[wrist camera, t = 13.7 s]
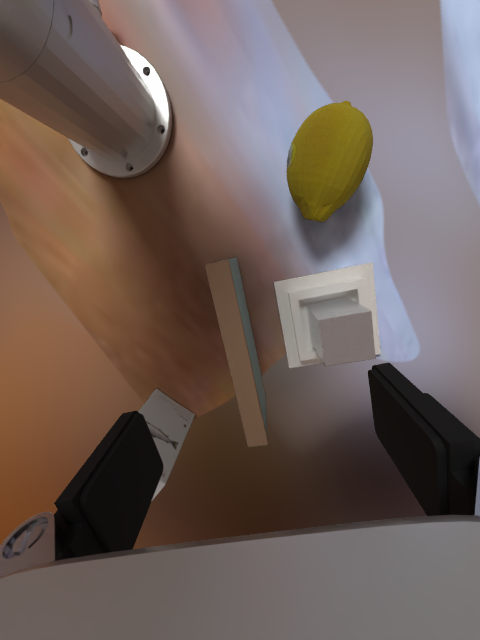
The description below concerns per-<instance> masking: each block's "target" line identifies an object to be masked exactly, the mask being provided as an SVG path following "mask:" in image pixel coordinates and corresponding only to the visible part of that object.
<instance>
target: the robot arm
mask: <svg viewBox="0 0 480 640" xmlns="http://www.w3.org/2000/svg"><path fill="white" fill-rule="evenodd" d="M149 74H150V75H149ZM0 99H2V100H4V101H5V102H7V103H9V104H11V105H12V106H14V107H16V108H17V109H19V110H21V111H23V112H24V113H26V114H28V115H30V116H31V117H33V118H35V119H36V120H38V121H40V122H42V123H43V124H45V125H47V126H48V127H50V128H52V129H54V130H55V131H57V132H59V133H61V134H62V135H64V136H66V137H67V138H68V139H69V141H70V143H71V145H72V146H73V148H74V150H75V151H76V152H77V154H78V155H79V156H80V157H81V158H82V159H83V160H84V161H85V162H86V163H87V164H88V165H90V166H91V167H92V168H94V169H96V170H97V171H99V172H101V173H103V174H106V175H108V176H112V177H116V178H131V177H136V176H139V175H141V174H143V173H145V172H147V171H148V170H150V169H151V168H152V167H154V166H155V164H156V163H157V162H158V161H159V160H160V159H161V157H162V155H163V154H164V152H165V150H166V148H167V145H168V142H169V140H170V135H171V129H172V110H171V103H170V99H169V96H168V93H167V90H166V88H165V86H164V84H163V82H162V80H161V78H160V76H159V75H158V73H157V72H156V70H155V69H154V67H153V66H152V65H151V64H150V63H149V62H148V61H147V59H146V58H144V57H143V56H142V55H140V54H139V53H138V52H136V51H135V50H133V49H130V48H128V47H126V46H123V45H120V44H119V43H118V41H117V40H116V38H115V37H114V35H113V34H112V32H111V31H110V30H109V28H108V26H107V25H106V24H105V22H104V21H103V19H102V13H101V9H100V5H99V1H98V0H0ZM163 131H165V132H164V133H163V134H162V132H163ZM132 168H133V170H132V171H131V169H132ZM368 378H369V386H370V394H371V402H372V410H373V418H374V426H375V431H376V434H377V436H378V438H379V440H380V441H381V443H382V444H383V446H384V448H385V449H386V451H387V452H388V454H389V456H390V457H391V459H392V460H393V462H394V464H395V465H396V467H397V468H398V470H399V472H400V473H401V475H402V476H403V478H404V479H405V481H406V483H407V484H408V486H409V488H410V489H411V491H412V492H413V494H414V496H415V497H416V499H417V500H418V502H419V504H420V505H421V507H422V508H423V510H424V511H425V513H426V515H427V516H418V517H408V518H398V519H388V520H377V521H366V522H357V523H348V524H339V525H331V526H322V527H313V528H305V529H296V530H287V531H278V532H270V533H262V534H253V535H245V536H236V537H228V538H220V539H212V540H204V541H196V542H187V543H179V544H172V545H164V546H156V547H148V548H140V549H133V547H134V544H135V542H136V539H137V537H138V534H139V531H140V529H141V526H142V524H143V521H144V519H145V516H146V514H147V511H148V508H149V506H150V503H151V501H152V498H153V496H154V493H155V491H156V488H157V486H158V483H159V481H160V478H161V476H162V473H163V468H164V465H163V461H162V459H161V456H160V454H159V451H158V449H157V447H156V444H155V442H154V439H153V437H152V435H151V432H150V430H149V427H148V425H147V423H146V420H145V418H144V416H143V414H140V413H139V412H138V411H133V412H128V413H123V414H122V415H121V416H120V417H119V419H118V420H117V421H116V423H115V424H114V425H113V426H112V428H111V429H110V430H109V432H108V433H107V434H106V436H105V437H104V438H103V440H102V441H101V442H100V444H99V445H98V446H97V448H96V449H95V450H94V452H93V453H92V454H91V456H90V457H89V458H88V459H87V461H86V462H85V463H84V465H83V466H82V467H81V469H80V470H79V471H78V473H77V474H76V475H75V477H74V478H73V479H72V480H71V482H70V483H69V484H68V486H67V487H66V489H65V490H64V491H63V492H62V494H61V495H60V496H59V498H58V499H57V500H56V502H55V503H54V504H55V505H56V507H57V508H58V510H57V512H56V513H55V514H54V515H53V514H52V513H50V512H43V513H40V514H37V515H35V516H33V517H32V518H30V519H28V520H27V521H25V522H24V523H22V524H21V525H20V526H18V527H17V528H16V529H15V530H14V531H13V532H12V533H11V534H10V535H9V536H8V537H7V539H6V540H5V541H4V542H3V543H2V545H1V546H0V640H480V438H478V437H477V436H476V435H475V434H474V433H473V432H472V431H471V430H469V429H468V428H467V427H466V426H465V425H464V424H463V423H461V422H460V421H459V420H458V419H457V418H456V417H455V416H454V415H452V414H451V413H450V412H449V411H448V410H447V409H446V408H444V407H443V406H442V405H441V404H440V403H439V402H438V401H436V400H435V399H434V398H433V397H432V396H431V395H429V394H427V393H422V392H421V391H420V390H419V389H418V388H417V387H416V386H415V385H413V384H412V383H411V382H410V381H409V380H408V379H407V378H406V377H405V376H404V375H402V374H401V373H400V372H399V371H398V370H397V369H396V368H395V367H394V366H392V365H391V364H390V363H384V364H379V365H374V366H372V370H369V371H368Z"/></svg>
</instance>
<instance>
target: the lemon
mask: <svg viewBox="0 0 480 640" xmlns="http://www.w3.org/2000/svg"><path fill="white" fill-rule="evenodd" d="M372 146H373V136H372V130H371V127H370V124H369V121H368V120H367V118H366V117H365V115H364V114H363V113H362V112H361V111H359V110H358V109H357V108H354V107H352V106H351V103H350V102H349V101H344V102H342V103H332V104H329V105H326V106H323V107H321V108H319V109H317V110H316V111H314V112H313V113H312V114H311V115H310V116H309V117H308V118H307V119H306V120H305V121H304V123H303V124H302V125H301V127H300V128H299V130H298V132H297V133H296V135H295V137H294V139H293V142H292V144H291V147H290V149H289V154H288V160H287V181H288V187H289V190H290V193H291V196H292V198H293V200H294V202H295V203H296V204H297V206H298V207H299V209H300V210H301V213H302V215H303V217H304V218H305V219H308V220H315V221H318V222H324V221H326V220H327V219H328V218H329V217H330V216H331V215H332V214H333V213H334V212H335V211H336V210H337V209H338V208H340V207H341V206H343V205H344V204H345V203H346V202H347V201H348V200H349V199H350V197H351V196H352V195H353V194H354V193H355V191H356V190H357V188H358V187H359V185H360V183H361V181H362V179H363V177H364V175H365V173H366V170H367V167H368V164H369V161H370V158H371V153H372Z"/></svg>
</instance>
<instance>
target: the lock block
mask: <svg viewBox="0 0 480 640" xmlns="http://www.w3.org/2000/svg"><path fill="white" fill-rule="evenodd" d="M305 305H306V311H307V318H308V325H309V332H310V338H311V342H312V343H313V345H314V347H315V349H316V351H317V353H318V355H319V356H320V358H321V360H322V362H323V364H324V365H325V366H330V365H337V364H344V363H350V362H357V361H363V360H370V359H376V357H375V346H374V334H373V323H372V311H371V310H369V309H367V308H365V307H363V306H362V305H360V304H358V303H356V302H354V301H353V300H351V299H349V298H347V297H341V298H336V299H330V300H325V301H319V302H314V303H308V304H305Z"/></svg>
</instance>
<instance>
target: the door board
mask: <svg viewBox="0 0 480 640" xmlns="http://www.w3.org/2000/svg"><path fill="white" fill-rule="evenodd" d="M205 269H206V273H207V277H208V282H209V286H210V290H211V294H212V298H213V303H214V307H215V311H216V315H217V319H218V323H219V328H220V332H221V336H222V340H223V344H224V348H225V353H226V357H227V361H228V365H229V369H230V374H231V378H232V382H233V386H234V390H235V394H236V399H237V402H238V407H239V411H240V415H241V419H242V423H243V428H244V432H245V436H246V440H247V444H248V447H252V446H261V445H268V438H267V423H266V395H265V390H264V385H263V380H262V375H261V371H260V366H259V361H258V356H257V351H256V347H255V342H254V337H253V332H252V327H251V323H250V318H249V313H248V308H247V303H246V299H245V294H244V289H243V284H242V280H241V275H240V270H239V265H238V260H237V257H236V258H231V259H227V260H222V261H218V262H214V263H210V264H206V265H205Z"/></svg>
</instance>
